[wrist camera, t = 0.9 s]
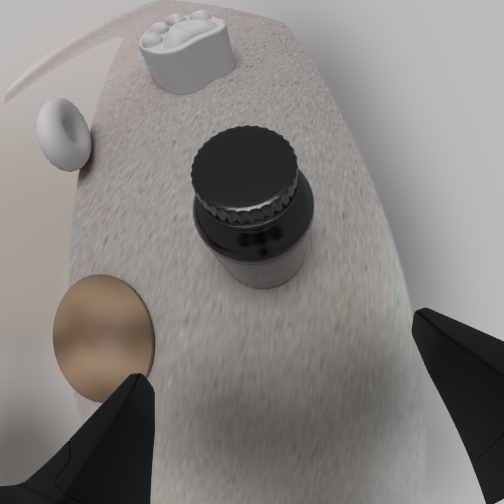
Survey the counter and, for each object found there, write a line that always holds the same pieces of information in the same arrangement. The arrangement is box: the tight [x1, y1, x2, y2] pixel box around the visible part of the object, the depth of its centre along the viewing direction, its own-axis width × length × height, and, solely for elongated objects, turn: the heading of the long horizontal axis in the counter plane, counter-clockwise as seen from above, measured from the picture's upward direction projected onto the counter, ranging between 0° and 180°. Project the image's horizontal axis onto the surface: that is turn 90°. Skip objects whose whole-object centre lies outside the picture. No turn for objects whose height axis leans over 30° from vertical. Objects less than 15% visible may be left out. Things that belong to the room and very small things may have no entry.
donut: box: [36, 98, 91, 172], centre depth 25 cm, size 10×4×10 cm, turn 19°
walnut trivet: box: [53, 274, 155, 403], centre depth 22 cm, size 12×12×1 cm
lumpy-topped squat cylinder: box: [139, 10, 235, 95], centre depth 29 cm, size 10×13×9 cm
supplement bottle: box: [191, 125, 314, 288], centre depth 17 cm, size 7×7×12 cm
